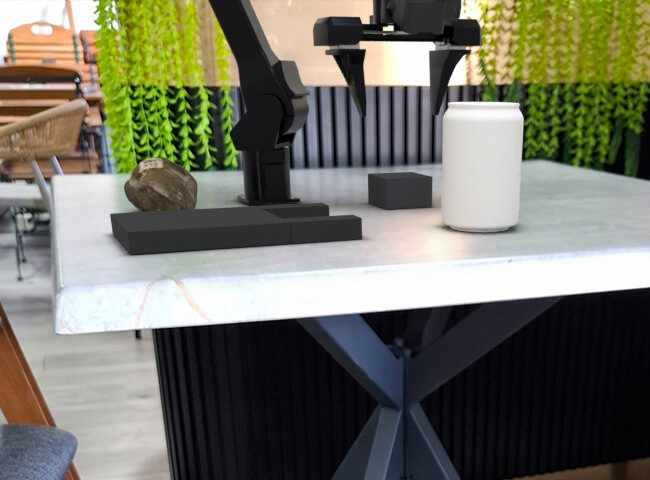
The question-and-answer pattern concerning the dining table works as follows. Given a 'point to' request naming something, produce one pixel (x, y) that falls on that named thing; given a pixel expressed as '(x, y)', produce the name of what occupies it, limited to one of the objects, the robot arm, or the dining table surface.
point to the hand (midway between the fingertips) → (399, 116)
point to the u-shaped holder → (231, 227)
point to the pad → (400, 190)
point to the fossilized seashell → (161, 186)
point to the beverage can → (481, 165)
